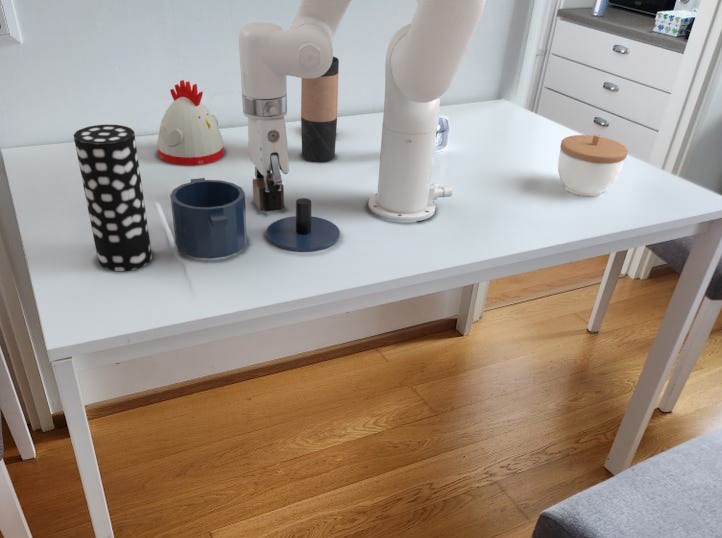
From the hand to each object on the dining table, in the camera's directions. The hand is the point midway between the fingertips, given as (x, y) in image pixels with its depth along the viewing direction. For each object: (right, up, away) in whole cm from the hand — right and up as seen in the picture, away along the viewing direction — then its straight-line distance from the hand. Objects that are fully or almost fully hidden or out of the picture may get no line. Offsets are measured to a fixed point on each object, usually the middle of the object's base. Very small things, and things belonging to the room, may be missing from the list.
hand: (268, 203), depth 126 cm
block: (0, 0, 0) cm, 0 cm away
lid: (+7, -7, -10) cm, 14 cm away
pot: (-8, -10, -12) cm, 18 cm away
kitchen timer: (-19, +16, +21) cm, 32 cm away
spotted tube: (-21, -13, -17) cm, 30 cm away
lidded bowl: (+63, +6, +12) cm, 64 cm away
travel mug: (+9, +15, +22) cm, 28 cm away
